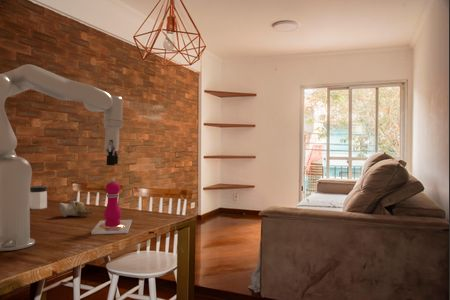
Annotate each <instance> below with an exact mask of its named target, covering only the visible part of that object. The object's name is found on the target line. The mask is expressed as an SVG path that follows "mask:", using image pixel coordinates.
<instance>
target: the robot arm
mask: <svg viewBox="0 0 450 300" xmlns="http://www.w3.org/2000/svg"><path fill="white" fill-rule="evenodd" d="M28 90H33V91H36V92H38V93H41V94H44V95H47V96H49V97H52V98H54V99H57V100H61V101H68V102H69V101H70V102H71V101H72V102H78V103H83V106H84V108H85V109H86V110H87V111H89V112H92V113H97V112H98V113H99V112H103V128H104V129H105V134H104V151H105V152H106V166H115V165H118V162H119V161H118V160H119V158H118V157H119V155H118V151H119V150H120V149H119V148H120V130H121V129H123V115H124V114H123V110H124V109H123V108H124V100H123V98H122V96H119V95H118V96H117V95H110V93H108V92H107V91H105V90H103V89H100V88H98V87H95V86H93V85H90V84H88V83H87V84H86V83H83V82H80V81H78V80H77V81H76V80H72V79H69V78H66V77H63V76H61V75H58V74H56V73H54V72H52V71H50V70H47V69H44V68H42V67H40V66H37V65H34V64H30V63H29V64H28V63H27V64H23V65H21V66H18V67H16V68H15V69H12V70H8V71H6V72H2V73H0V252H3V251H4V252H5V251H6V252H7V251H17V250H22V249H26V248H30V247H32V246H33V245H35V244H36V242H35V241H36V239H34V238H31V209H30V187H31V183H32V176H33V170H32V166H31V164H30V162H29V161H28V160H27V159H25V158H23V157H21V156H18V155H17V153H16V151H15V150H16V148H17V146H18V138H17V137H16V135H15V134H16V133H15V132H14V130H13V128H12V125H11V123H10V120H9V118H8V115H7V113H6V109H5V103H6V100H7V98H9V97H13V96H15V95H18V94H21V93H23V92H26V91H28Z"/></svg>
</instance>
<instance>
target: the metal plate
mask: <svg viewBox="0 0 450 300" xmlns="http://www.w3.org/2000/svg"><path fill="white" fill-rule="evenodd" d="M119 220H120V225H118V226H105V221H106V220H99V221H98V223H96V225H95V226H94V228H93V229H92V230H91V232H90V233H91V236H93V235H117V234H128V233H129V232H130V231H129V230H130V227H131V225H132V223H133V220H132V219H119Z"/></svg>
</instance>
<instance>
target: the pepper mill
mask: <svg viewBox="0 0 450 300" xmlns="http://www.w3.org/2000/svg"><path fill="white" fill-rule="evenodd" d="M120 190H121V186H120V184H119V183H118V182H116V180H115V178H112V179H110V182H109V183H107V184H106V186H105V191H106V197H107V205H106V207H105V210H104V212H103V218H104V219H105V220H104V221H105V226H118V225H120V220H121V217H122V210H121V208H120V206H119V197H120V196H119V195H120V193H119V192H120Z"/></svg>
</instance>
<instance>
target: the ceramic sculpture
mask: <svg viewBox="0 0 450 300" xmlns="http://www.w3.org/2000/svg"><path fill="white" fill-rule="evenodd" d="M59 211H60V212H61V216H62V217H63V218H67V217H68V216H73V217H80V216H88V215H91V214H92V213H93V212H92V211H91V208H86V205H85V204H84V202H83V201H77V199H72V200H70V201H69V202H68V203H63V202H59Z"/></svg>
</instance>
